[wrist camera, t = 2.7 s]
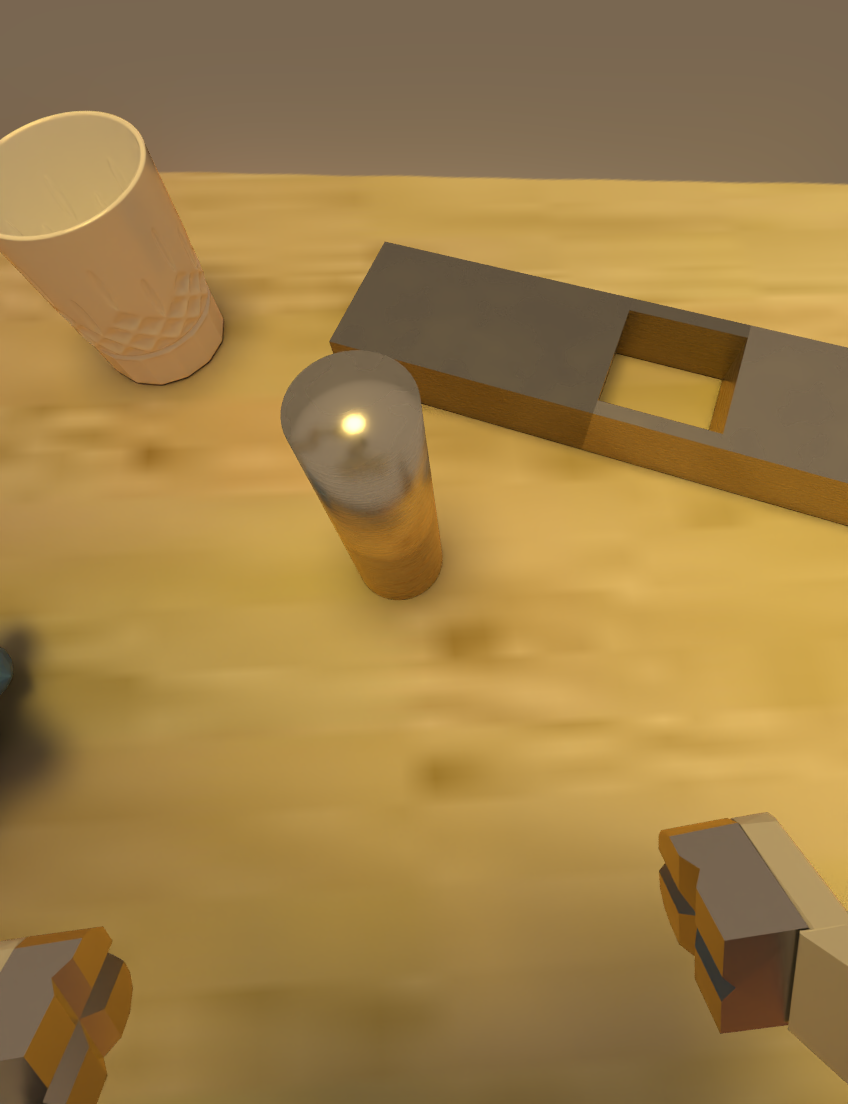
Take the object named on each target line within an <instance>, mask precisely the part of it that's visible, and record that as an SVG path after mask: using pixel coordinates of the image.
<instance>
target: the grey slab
mask: <svg viewBox="0 0 848 1104" xmlns="http://www.w3.org/2000/svg"><path fill="white" fill-rule="evenodd" d="M329 342H330V345H331V348H332V351H333V354H334V353H338V352H343V351H351V350H365V351H372V352H377V353H380V354H383V355H386V356H388V357H390V358H392V359H394V360H396V361H397V362H399V363H400V364H401V365H403V366H404V367H405V368H406V369H407V370H408V371H409V373H410V374H411V375H412V377H413V378H414V380H415V382H416V384H417V387H418V390H419V394H420V400H421V403H423V404H426V405H430V406H433V407H437V408H440V409H444V410H447V411H451V412H454V413H457V414H461V415H464V416H468V417H471V418H475V419H478V420H482V421H485V422H489V423H492V424H496V425H499V426H503V427H506V428H510V429H513V430H517V431H520V432H524V433H527V434H530V435H534V436H537V437H541V438H544V439H548V440H551V441H555V442H558V443H562V444H565V445H569V446H572V447H576V448H579V449H583V450H586V451H590V452H593V453H597V454H600V455H604V456H607V457H610V458H614V459H617V460H621V461H624V462H628V463H631V464H635V465H638V466H642V467H645V468H649V469H652V470H656V471H659V472H663V473H666V474H670V475H673V476H677V477H680V478H683V479H687V480H690V481H694V482H697V483H701V484H704V485H708V486H711V487H715V488H718V489H722V490H725V491H729V492H732V493H736V494H739V495H743V496H746V497H750V498H753V499H757V500H760V501H763V502H767V503H770V504H774V505H777V506H781V507H784V508H788V509H791V510H795V511H798V512H802V513H805V514H809V515H812V516H816V517H819V518H823V519H826V520H830V521H833V522H836V523H840V524H843V525H847V526H848V348H847V347H842V346H838V345H834V344H829V343H825V342H820V341H816V340H812V339H807V338H803V337H799V336H794V335H790V334H786V333H781V332H777V331H772V330H768V329H764V328H759V327H755V326H751V325H746V324H742V323H737V322H733V321H729V320H724V319H720V318H716V317H711V316H707V315H703V314H698V313H694V312H689V311H685V310H681V309H676V308H672V307H668V306H663V305H659V304H655V303H650V302H646V301H641V300H637V299H633V298H628V297H624V296H620V295H615V294H611V293H607V292H602V291H598V290H593V289H589V288H585V287H580V286H576V285H572V284H567V283H563V282H558V281H554V280H550V279H545V278H541V277H537V276H532V275H528V274H524V273H519V272H515V271H510V270H506V269H502V268H497V267H493V266H489V265H484V264H480V263H476V262H471V261H467V260H462V259H458V258H454V257H449V256H445V255H441V254H436V253H432V252H428V251H423V250H419V249H414V248H410V247H406V246H401V245H397V244H393V243H388V242H384V244H383V246H382V248H381V250H380V251H379V253H378V255H377V257H376V259H375V260H374V262H373V264H372V266H371V268H370V269H369V271H368V273H367V275H366V277H365V278H364V280H363V282H362V284H361V286H360V287H359V289H358V291H357V293H356V295H355V296H354V298H353V300H352V302H351V304H350V305H349V307H348V309H347V311H346V312H345V314H344V316H343V318H342V320H341V321H340V323H339V325H338V327H337V329H336V330H335V332H334V334H333V336H332V338H331V339H330V341H329ZM615 353H619V354H623V355H627V356H631V357H635V358H639V359H643V360H647V361H651V362H655V363H659V364H663V365H667V366H671V367H675V368H679V369H683V370H687V371H691V372H695V373H699V374H703V375H707V376H711V377H715V378H719V379H723V380H722V384H721V388H720V391H719V395H718V399H717V402H716V406H715V410H714V414H713V417H712V421H711V425H710V428H709V430H706V429H702V428H699V427H695V426H691V425H688V424H684V423H680V422H676V421H673V420H669V419H665V418H662V417H658V416H654V415H650V414H647V413H643V412H639V411H635V410H632V409H628V408H624V407H621V406H617V405H613V404H609V403H606V402H602V401H599V399H600V396H601V393H602V390H603V387H604V384H605V381H606V379H607V376H608V373H609V370H610V367H611V364H612V361H613V359H614V356H615Z"/></svg>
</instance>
